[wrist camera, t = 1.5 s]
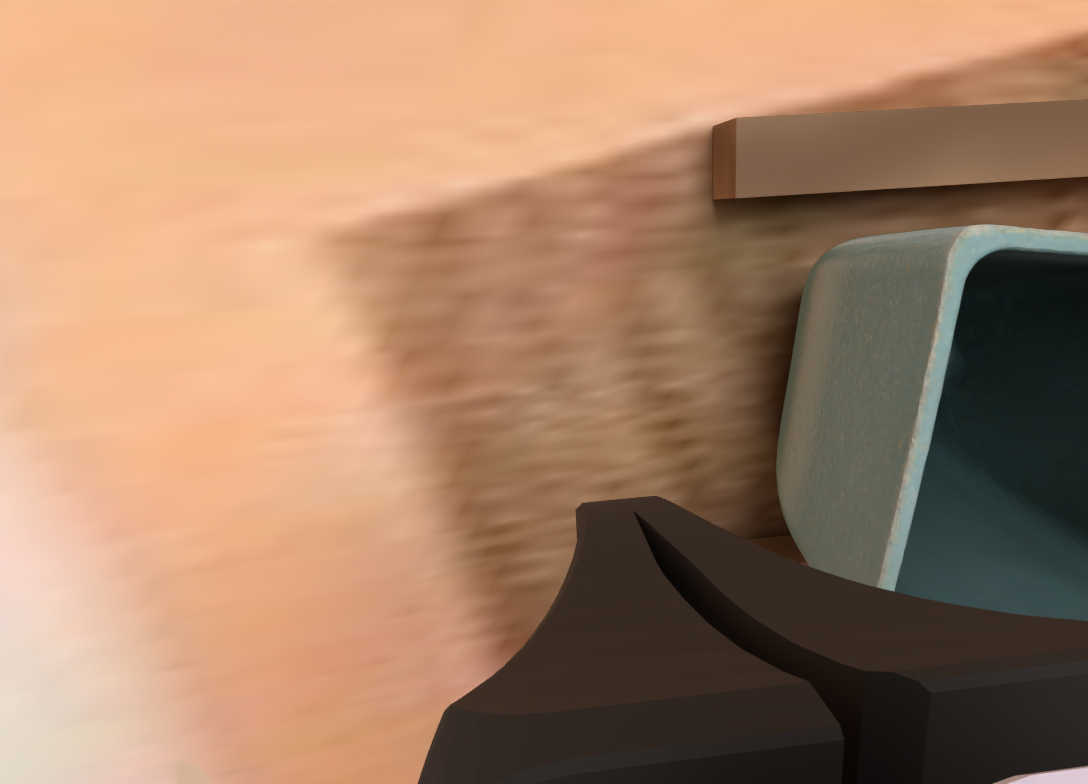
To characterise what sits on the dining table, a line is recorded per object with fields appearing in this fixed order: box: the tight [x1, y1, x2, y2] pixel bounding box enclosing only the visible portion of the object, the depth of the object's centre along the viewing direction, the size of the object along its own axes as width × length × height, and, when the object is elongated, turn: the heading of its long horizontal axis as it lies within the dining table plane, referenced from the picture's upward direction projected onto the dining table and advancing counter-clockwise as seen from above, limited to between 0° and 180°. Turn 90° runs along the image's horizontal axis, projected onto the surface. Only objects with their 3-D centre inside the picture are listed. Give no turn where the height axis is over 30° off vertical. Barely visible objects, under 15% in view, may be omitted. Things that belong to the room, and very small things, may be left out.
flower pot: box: [776, 224, 1088, 621], centre depth 18 cm, size 9×9×9 cm
